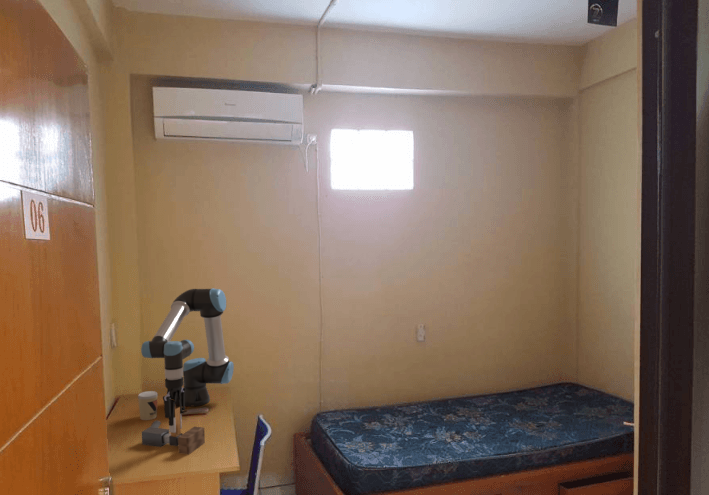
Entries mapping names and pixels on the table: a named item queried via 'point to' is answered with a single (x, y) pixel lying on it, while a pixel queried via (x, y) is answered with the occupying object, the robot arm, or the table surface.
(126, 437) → the table surface
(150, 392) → the coffee cup
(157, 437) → the dark grey block
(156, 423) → the half round rod
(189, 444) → the walnut socket
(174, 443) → the sliding bar
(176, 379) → the robot arm
